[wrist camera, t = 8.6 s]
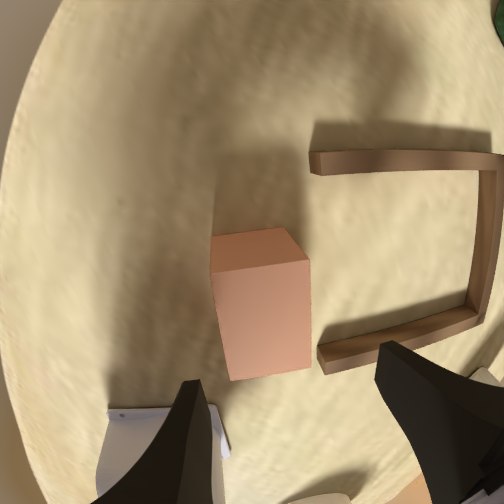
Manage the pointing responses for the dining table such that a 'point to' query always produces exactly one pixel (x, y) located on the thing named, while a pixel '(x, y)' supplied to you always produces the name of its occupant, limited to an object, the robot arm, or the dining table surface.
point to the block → (262, 302)
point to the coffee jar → (500, 19)
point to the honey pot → (324, 499)
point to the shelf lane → (484, 258)
